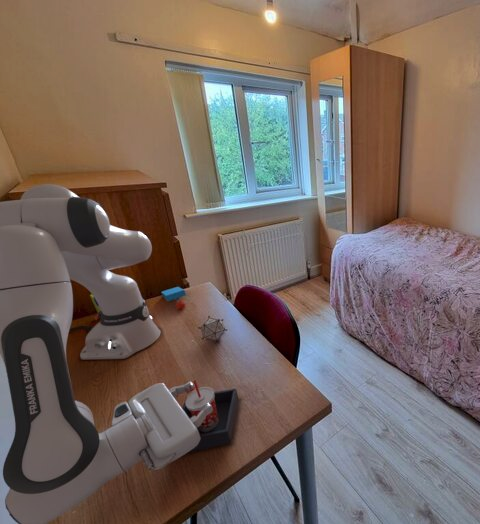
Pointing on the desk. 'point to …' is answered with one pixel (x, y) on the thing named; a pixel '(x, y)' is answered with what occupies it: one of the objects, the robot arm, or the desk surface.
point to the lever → (175, 296)
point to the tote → (226, 415)
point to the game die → (212, 329)
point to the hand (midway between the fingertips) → (201, 395)
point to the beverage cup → (200, 399)
